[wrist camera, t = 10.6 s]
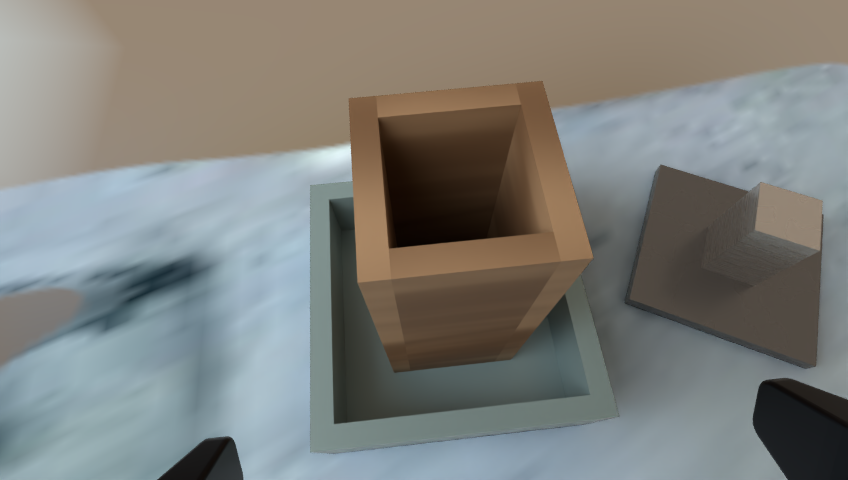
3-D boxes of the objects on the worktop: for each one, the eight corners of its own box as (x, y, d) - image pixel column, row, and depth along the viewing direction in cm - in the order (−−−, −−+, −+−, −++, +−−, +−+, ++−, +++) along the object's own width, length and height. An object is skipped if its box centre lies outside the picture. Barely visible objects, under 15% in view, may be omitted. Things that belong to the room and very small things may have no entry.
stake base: (805, 368, 20) (902, 345, 16) (624, 302, 22) (670, 265, 18) (814, 220, 24) (896, 169, 19) (655, 171, 25) (701, 113, 21)
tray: (584, 424, 19) (619, 416, 16) (332, 453, 19) (310, 452, 15) (532, 206, 24) (550, 162, 20) (328, 227, 24) (310, 185, 20)
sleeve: (510, 359, 20) (593, 257, 10) (394, 372, 20) (357, 282, 10) (490, 253, 22) (542, 81, 12) (385, 264, 22) (348, 98, 12)
